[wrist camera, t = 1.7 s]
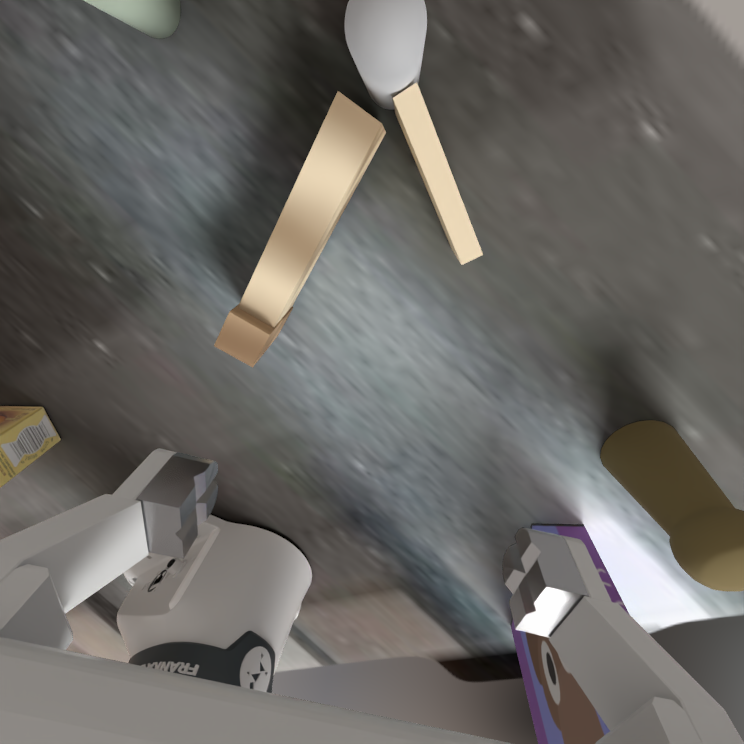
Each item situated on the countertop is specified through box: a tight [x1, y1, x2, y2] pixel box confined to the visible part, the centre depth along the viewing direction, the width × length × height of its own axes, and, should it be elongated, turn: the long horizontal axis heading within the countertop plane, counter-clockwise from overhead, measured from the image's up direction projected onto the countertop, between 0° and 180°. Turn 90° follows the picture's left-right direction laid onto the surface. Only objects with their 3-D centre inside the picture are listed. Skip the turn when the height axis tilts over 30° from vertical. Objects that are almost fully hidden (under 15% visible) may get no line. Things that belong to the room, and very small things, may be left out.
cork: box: [600, 420, 744, 591], centre depth 26 cm, size 6×6×11 cm
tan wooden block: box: [214, 91, 386, 367], centre depth 22 cm, size 15×3×5 cm, turn 148°
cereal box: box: [511, 524, 629, 744], centre depth 29 cm, size 17×5×24 cm, turn 3°
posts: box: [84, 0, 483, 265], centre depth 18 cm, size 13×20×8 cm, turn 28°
